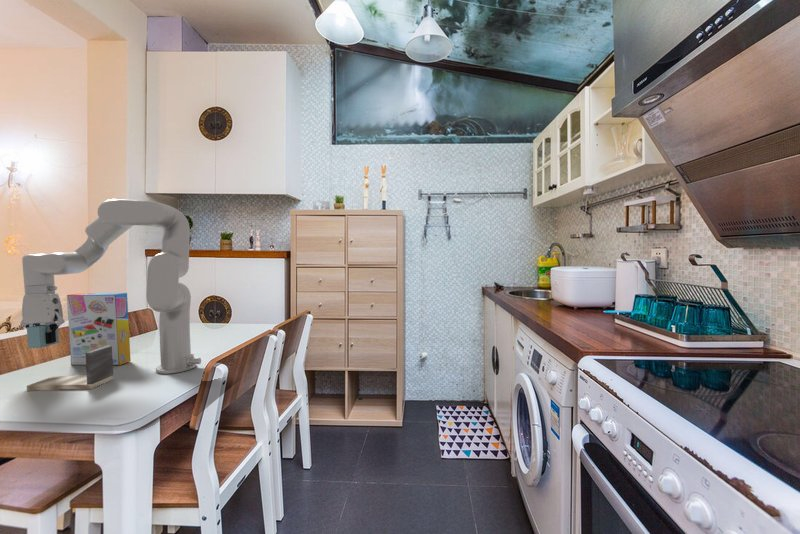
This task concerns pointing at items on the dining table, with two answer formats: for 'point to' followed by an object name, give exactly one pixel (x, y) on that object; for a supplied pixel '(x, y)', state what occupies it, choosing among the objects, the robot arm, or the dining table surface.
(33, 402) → the dining table surface
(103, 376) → the wooden bookend
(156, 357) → the dining table surface
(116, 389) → the dining table surface
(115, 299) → the game box
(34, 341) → the pale blue upright box
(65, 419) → the dining table surface
